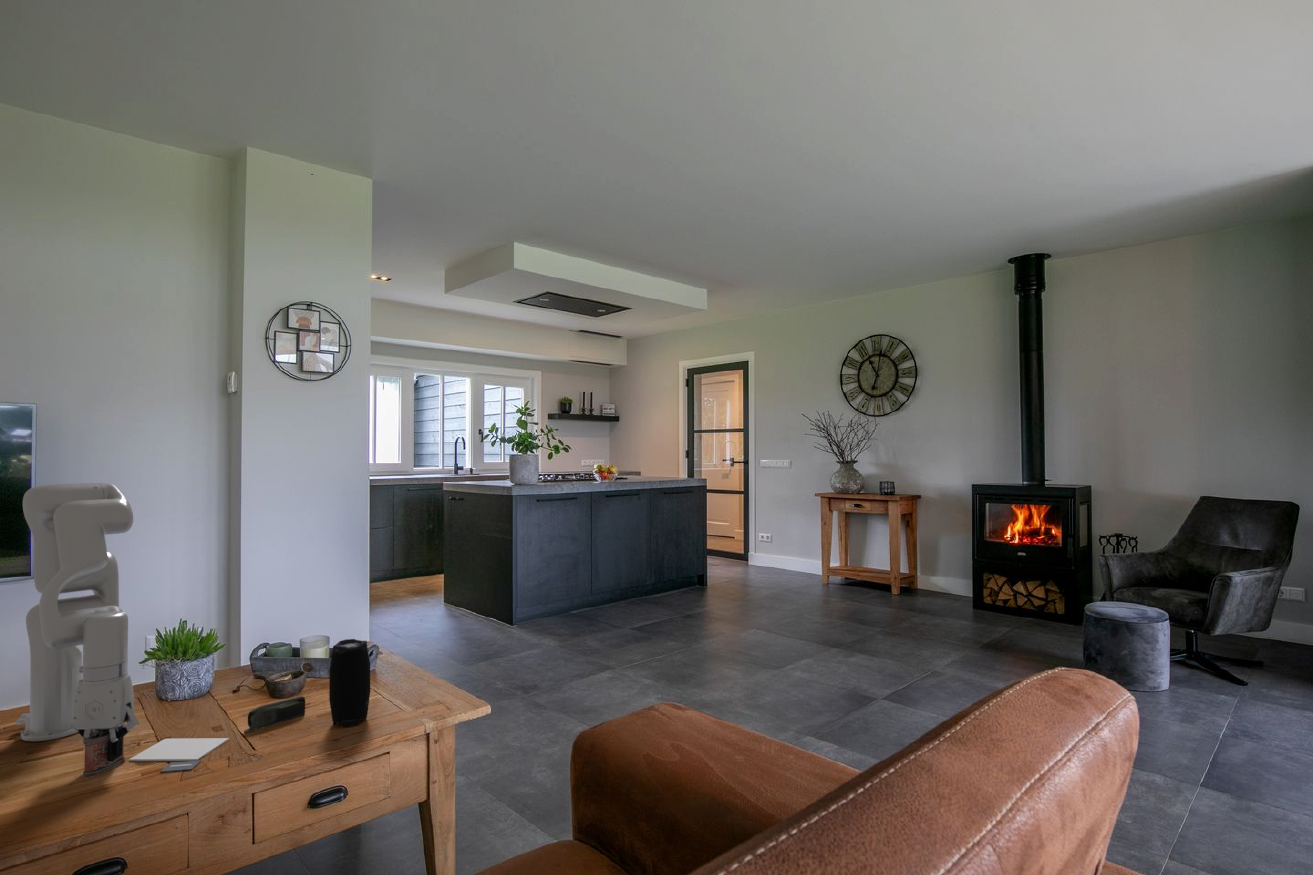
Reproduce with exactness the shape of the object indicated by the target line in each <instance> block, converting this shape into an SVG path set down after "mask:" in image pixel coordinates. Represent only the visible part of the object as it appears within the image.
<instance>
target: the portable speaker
mask: <svg viewBox="0 0 1313 875" xmlns="http://www.w3.org/2000/svg"><path fill="white" fill-rule="evenodd" d="M330 657H331V659H330V662H329V663H330V664H329V669H328V671H329V677H328V678H329V682H328V683H329V685H328V686H329V688H328V689H329V694H328V695H329V699H328V700H329V707H330V714H331V721H332V724H333V725H335V724H338V725H339V726H341V727H342V729H344V728H346V729H347V728H352V727H355V726H359V725H360V723H361V721H363V720H367V718H368V713H369V705H370V698H371V697H370V696H371V661H370V660H371V659H370V655H369V649H368V641H367V640H361V639H355V638H350V639H349V638H348V639H342V640H339V641H338V642H337V643H336V644H335V645H333V646H332V652H331V656H330Z"/></svg>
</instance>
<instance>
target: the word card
mask: <svg viewBox="0 0 1313 875" xmlns="http://www.w3.org/2000/svg"><path fill="white" fill-rule="evenodd" d="M200 763H202V760H198V761H174V762H170V763H168V765H166V766H165V767H164V768H162V769H161V770H160V772H159V773H160V774H162V773H173V772H174V771H176V772H183V771H182V770H189V771H192V770H191V769H193V768H194V767H195V766H196V767H197V766H198V765H199V764H200ZM197 764H198V765H197ZM196 767H195V768H196ZM195 768H194V769H195ZM194 769H193V770H194ZM174 773H175V772H174Z"/></svg>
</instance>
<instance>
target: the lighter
mask: <svg viewBox="0 0 1313 875" xmlns="http://www.w3.org/2000/svg"><path fill="white" fill-rule="evenodd" d="M117 732H118V728H117ZM90 733H91V735H92V736H90V737H88V738H86V739H84V741H83V745H84V766H83V768H84V771H83V772H82V778H93V777H95V776H98V775H99V776H100V775H101V774H103V773H106V772H108V771H111V770H113V769H115V768H117V767H118V766H120V765H122V764H124V763H125V761H126V760H125V759H126V757H125V756H124V752H125V750H124V749H125V737H123V752H122V756H120V757H118V758H117V759H115V760H113V761H108V743H109V742H111V739H110V732H109V729H90Z"/></svg>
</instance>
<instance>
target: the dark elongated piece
mask: <svg viewBox="0 0 1313 875" xmlns="http://www.w3.org/2000/svg"><path fill="white" fill-rule="evenodd" d="M305 713H306V698H305V696H303V695H302V696H297V697H292V698H289V699H284V700H281V701H276V702H272V703H267V704H263V705H260V706H258V707H256V708H254V709H252V710H250V711H249V712H248V715H247V726H248V727H249V728H247V729H245V730H244V731H243V733H244V734H248V733H251V732H254V731H255V730H256V729H257V730H260V729H263V728H262V727H264V728H266V726H267V727H271V726H274V725H276V724H280V723H284V722H287V721H290V720H293V719H297V718H299V717H302V716H304V715H305ZM270 725H271V726H270ZM259 728H260V729H259ZM253 730H254V731H253ZM250 731H251V732H250Z"/></svg>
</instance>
